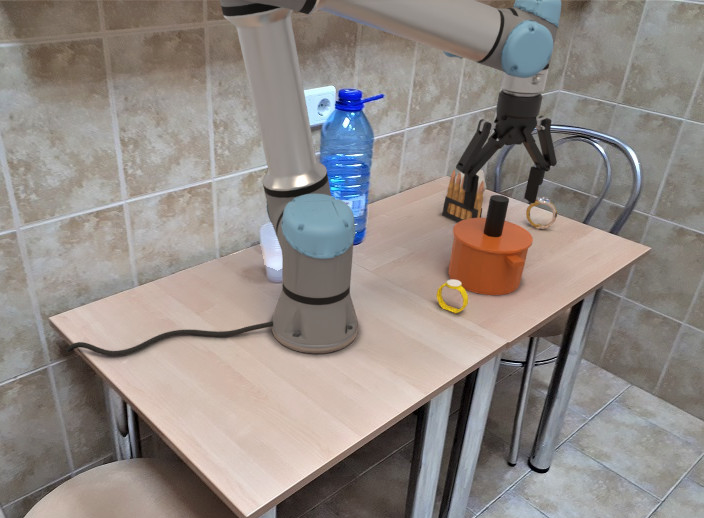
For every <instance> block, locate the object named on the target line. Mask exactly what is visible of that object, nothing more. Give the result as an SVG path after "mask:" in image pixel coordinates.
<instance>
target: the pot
mask: <svg viewBox="0 0 704 518" xmlns="http://www.w3.org/2000/svg"><path fill="white" fill-rule="evenodd" d="M528 251H529V248H528V249H526V250H524V251H522V252H518V253H510V254H500V253H490V252H485V251H480V250H477V249H474V248H471V247H469V246H467V245H465V244H463V243H461V242H460V241H458V240H457V239H456V238H455V236H454V235H453V239H452V246H451V252H450V259H449V264H448V268H447V269H448V270H447V271H448V278H449V280H451V279H454V280H458V281H460V282H461V283H462V284H461V286H462V287H463V288H464V289H465V290H466V291H469V292H472V293H476V294H480V295H486V296H503V295H508V294H511V293H513V292H515V291H516V290H518V288H519V287H520V284H521V281H522V277H523V273H524V268H525V264H526V260H527V256H528Z"/></svg>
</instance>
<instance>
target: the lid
mask: <svg viewBox="0 0 704 518" xmlns="http://www.w3.org/2000/svg"><path fill="white" fill-rule="evenodd" d="M509 203H510V198H509V197H508V196H505V195H502V194H492V195H491V196H489V202H488V207H487V212H486V216H485V217H481V218H470V219H465V220H462V221H460V222H457V223H455V224H454V226H453V227H452V228H453V229H452V234H453V237H454V236H455V238H456V239H457V240H458V241H460V242H461V243H463V244H465V245H467V246H469V247H471V248H474V249H477V250H480V251H485V252H490V253H500V254H510V253H518V252H522V251H524V250H526V249H528V250H529V249H530V248H531V247H532V245H533V240H534V238H533V236H532V234H531V233H530V231H528V230H527V229H525V228H524V227H522V226H520V225H519V224H516V223H514V222H510V221H507V220H506V217H507V213H508V208H509Z"/></svg>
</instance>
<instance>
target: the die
mask: <svg viewBox="0 0 704 518" xmlns="http://www.w3.org/2000/svg"><path fill="white" fill-rule="evenodd" d="M459 172H460V171H459ZM460 173H461V183H462V180H463V177H464V174H463V173H462V172H460ZM476 175H478V176H479V181H478V190H479V186H480V184H481V182H482V181H484V191H483V193H484V192H485V191H486V190H487V183H486V179H485V173H484V170H482V169H480V170H479V171H478V172H477V174H476ZM457 176H458V174H457V175H456V176H455V183H456V179H457ZM460 188H461V185H460ZM477 194H478V191H477Z"/></svg>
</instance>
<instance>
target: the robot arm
mask: <svg viewBox="0 0 704 518" xmlns="http://www.w3.org/2000/svg"><path fill="white" fill-rule="evenodd" d="M219 3H220V7H221V11H222V17H223V18H224V19H226V20H227V21H228V22H229V23H230V24H232V25H233V26H235V29H236V32H237V37H238V41H239V46H240V50H241V54H242V59H243V63H244V64H243V65H244V68H245V72H246V77H247V81H248V86H249V90H250V95H251V99H252V104H253V108H254V113H255V117H256V123H257V126H258V130H259V134H260V140H261V143H262V144H261V145H262V148H263V152H264V156H265V161H266V165H267V169H268V170H267V172H266V173H265V174H264V176H263V177H262V187H263V191H264V195H265V199H266V201H265V202H266V213H267V216H268V219H269V222H270V223H271V225H272V228H273V231H274V232H275V235H276V238H277V241H278V244H279V247H280V250H281V257H282V259H281V260H282V261H281V262H282V263H281V264H282V265H281V266H282V268H281V269H282V270H281V271H282V273H281V274H282V275H281V276H282V277H281V279H282V288H281V294H279V295H280V296H279V298H278V301H277V303H276V306H275V309H274V310H273V311H274V312H273V314H272V317H271V321H267V322H262V323H257V324H252V325H249V326H244V327H241V328H238V329H232V330H225V331H223V330H222V331H215V330H213V331H212V330H203V329H202V330H201V329H176V330H170V331H167V332H162V333H161V334H157V335H156V336H153V337H151V338H149V339H147V340H145V341H144V342H141V343H139V344H137V345H135V346H131V347H129V348H125V349H119V350H110V349H109V350H108V349H104V348H101V347H98V346H96V345H93V344H91V343H88V342H84V341H78V342H74V343H72V344H70V345H68V346H67V347H66V349H65V352H72V351H73V350H75V349H77V348H81V349H86V350H89V351H92V352H94V353H97V354H99V355H102V356H107V357H121V356H127V355H130V354H133V353H136V352H139V351H141V350H143V349H145V348H147V347H149V346H151V345H153V344H154V343H157V342H159V341H161V340H164V339H167V338H171V337H175V336H184V335H185V336H187V335H188V336H189V335H191V336H192V335H193V336H203V337H215V338H216V337H219V338H221V337H232V336H238V335H241V334H245V333H248V332H253V331H257V330H262V329H267V328H271V332H272V335H273V336H274V338H275V339H276V341H277V342H279V343H280V344H281V345H283V346H284V347H286V348H288V349H290V350H292V351H296V352H299V353H305V354H328V353H333V352H337V351H340V350H342V349H344V348H346V347H348V346H349V345H350V344H352V342H354V341H355V339H356V338H357V335H358V326H359V320H358V316H357V313H356V310H355V306H354V303H353V299H352V296H351V280H352V267H353V266H352V265H353V254H354V242H355V237H356V224H355V216H354V215H355V214H354V212H353V210H352V208H351V207H350V206H349V204H347V203H346V202H345V201H343V200H342V199H340V198H338V199H336V197H335V196H333V195H332V192H331V187H330V180H329V176H328V175H329V174H328V170H327V167H326V166H325V165H324V164H323V163H321V162H320V161H318V160H317V156H316V151H315V145H314V139H313V134H312V128H311V122H310V118H309V111H308V106H307V99H306V95H305V89H304V84H303V77H302V73H301V68H300V61H299V56H298V49H297V45H296V39H295V38H296V37H295V33H294V27H293V21H292V13H293V12H294V11H295V12H299V13H301V14H305V15H308V16H311V15H313V14H315V13H316V12H317V11H322V12H324V13H328V14H331V15H334V16H336V17H340V18H342V19H345V20H349V21H352V22H355V23H358V24H361V25H364V26H367V27H370V28H372V29H376V30H379V31H381V32H385V33H388V34H391V35H394V36H397V37H399V38H403V39H406V40H409V41H412V42H415V43H418V44H421V45H423V46H427V47H429V48H433V49H436V50H438V51H442V52H443V54H444V55H445V56H446V57H448V58H458V59H461V60H462V59H465V60H469V61H472V62H475V63H477V64H480V65H483V66H485V67H489V68H492V69H495V70H498V71H500V72H501V73H502V74H501V79H500V84H499V87H500V89H501V90H500V91H499V92H498V97H497V103H496V108H495V111H496V115H495V119H494V120H493V121H489V120H485V119H484V118H481V119H480V120H479V121H478V124H477V128H476V132H475V133H474V134H473V136H472V138H471V140H470V142H469V143H468V145H467V146H466V148H465V150H464V152H463V153H462V155H461V157H460V159H459V160H458V162H457V163H456V165H455V169H456V170H457V171H459V172H462V173H463V174H464V181H463V190H465V196H464V203H463V204H464V205H465V206H466V207H467V208H469V209H470V210H471V209H474V204H475V198H476V192H477V187H478V181H479V176H478V175H476V174H477V172H478V171H479V170H482V168H483V167H484V166H485V165H486V164H487V163H488V162H489V160H491V158H492V157H493V156H494V155H495V154H496V153H497V152H498V151H499V150H500V149H502V148H504V146H513V145H518V146H519V145H523V146H524V148H525V150H526V151H527V153H528V156H529V158H530V159H531V161H532V162H533V164H534V165H535V166H530V170H529V172H528V173H529V174H528V179H527V183H526V188H525V192H524V197H523V199H524V200H526V201H527V202H529V203H530V204H531V203H535V201H536V200H537V197H538V192H539V187H540V186H542V184H543V183H544V178H545V173H547V172H549V171H550V170H551V167H555V166H557V163H558V162H557V155H556V151H555V147H554V141H553V138H552V132H551V128H552V119H551V118H548V117H547V116H545V115H540V112H541V107H542V103H543V95H542V93H543V92H544V91H545V87H546V84H547V83H546V82H547V78H548V73H549V70H550V69H549V68H550V65H551V64H550V63H551V60H552V55H553V51H554V46H555V41H556V38H557V32H558V29H559V27H560V19H561V13H562V11H561V10H562V0H514V4H513V6H512V7H507V8H500V7H498V8H496V7H494V6H491V5H488V4H486V3H483V2H482V1H481V2H480V1H477V0H219ZM539 115H540V116H539ZM537 117H538V118H537ZM535 129H536V132H537V136H538V141H539V145H540V149H539V147H538V145H537V143H536V142H537V141H536V139H535V137H534V136H533V132H534V130H535ZM490 134H491V135H490ZM540 150H541V151H540Z"/></svg>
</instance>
